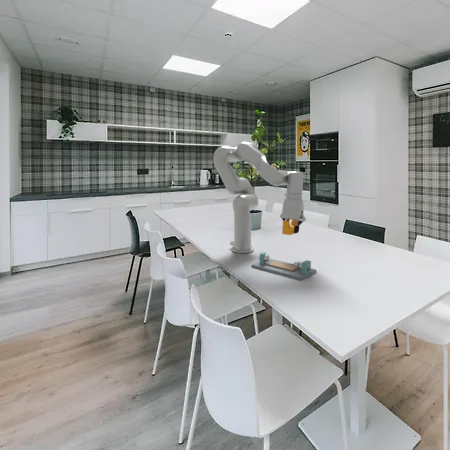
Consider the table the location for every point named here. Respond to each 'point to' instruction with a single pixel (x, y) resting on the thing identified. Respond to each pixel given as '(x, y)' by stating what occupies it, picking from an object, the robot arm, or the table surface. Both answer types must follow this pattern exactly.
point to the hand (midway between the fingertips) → (291, 231)
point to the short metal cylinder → (265, 258)
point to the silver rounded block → (301, 266)
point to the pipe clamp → (288, 227)
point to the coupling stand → (284, 268)
